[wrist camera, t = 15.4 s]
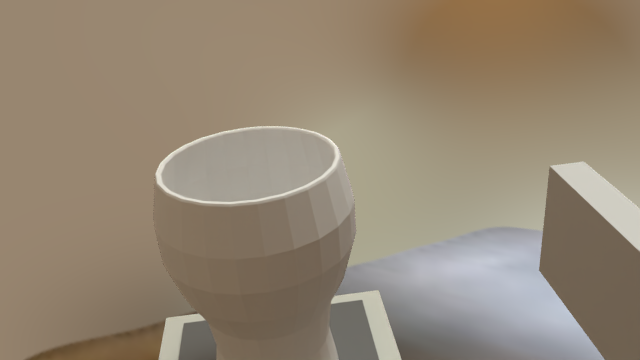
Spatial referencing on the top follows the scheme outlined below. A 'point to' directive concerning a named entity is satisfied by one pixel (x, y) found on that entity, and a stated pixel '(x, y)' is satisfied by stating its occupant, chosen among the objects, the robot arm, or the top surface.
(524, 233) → the top surface
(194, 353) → the stand
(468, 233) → the top surface
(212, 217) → the cup
